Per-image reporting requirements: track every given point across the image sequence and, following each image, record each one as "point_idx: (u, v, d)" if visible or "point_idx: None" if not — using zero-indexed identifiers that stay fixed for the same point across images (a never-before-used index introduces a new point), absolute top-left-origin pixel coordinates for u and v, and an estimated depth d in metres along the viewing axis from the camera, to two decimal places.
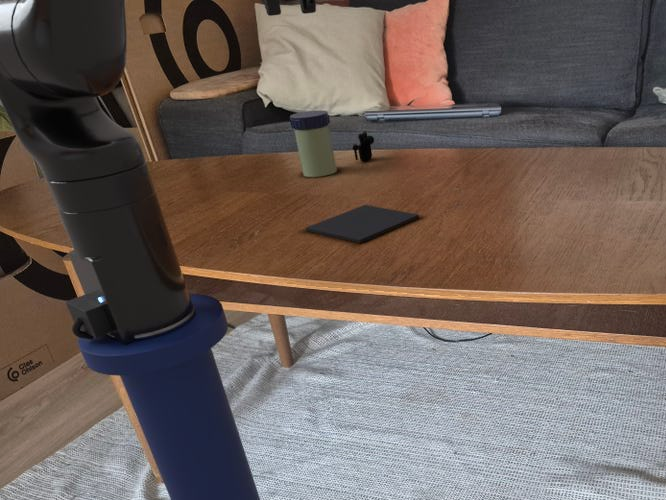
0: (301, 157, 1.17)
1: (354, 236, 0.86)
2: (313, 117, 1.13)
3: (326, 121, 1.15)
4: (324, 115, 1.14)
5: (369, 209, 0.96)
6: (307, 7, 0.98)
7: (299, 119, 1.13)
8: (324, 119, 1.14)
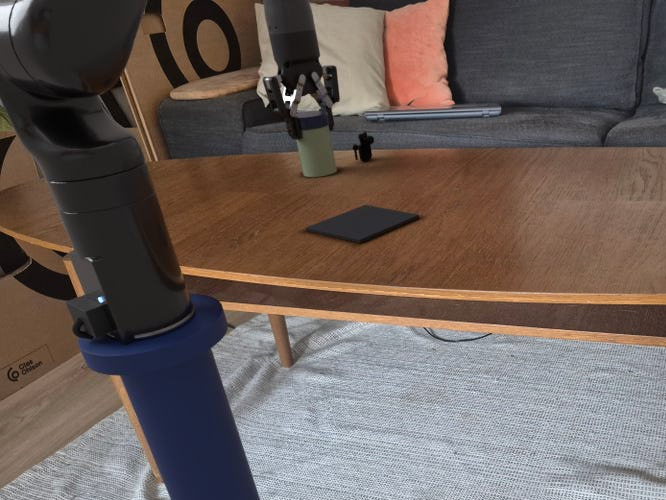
0: (301, 157, 1.17)
1: (354, 236, 0.86)
2: (313, 117, 1.13)
3: (326, 121, 1.15)
4: (324, 115, 1.14)
5: (369, 209, 0.96)
6: (333, 125, 1.19)
7: (299, 119, 1.13)
8: (324, 119, 1.14)
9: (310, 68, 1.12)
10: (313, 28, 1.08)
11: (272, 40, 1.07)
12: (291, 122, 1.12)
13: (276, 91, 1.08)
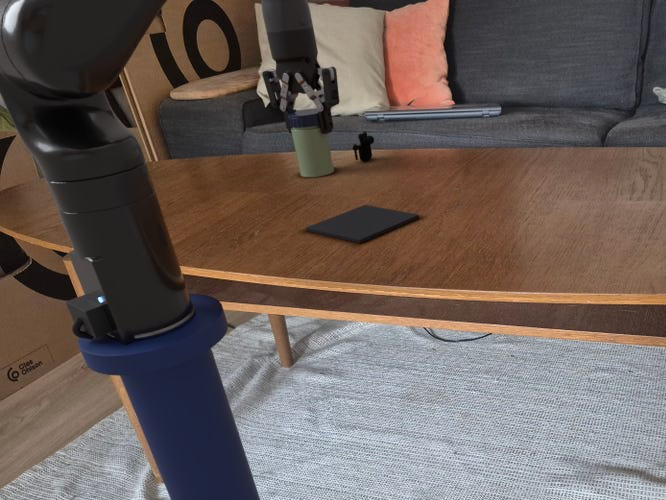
0: (299, 157, 1.17)
1: (354, 236, 0.86)
2: None
3: None
4: None
5: (369, 209, 0.96)
6: None
7: None
8: None
9: None
10: None
11: (306, 34, 1.07)
12: None
13: None
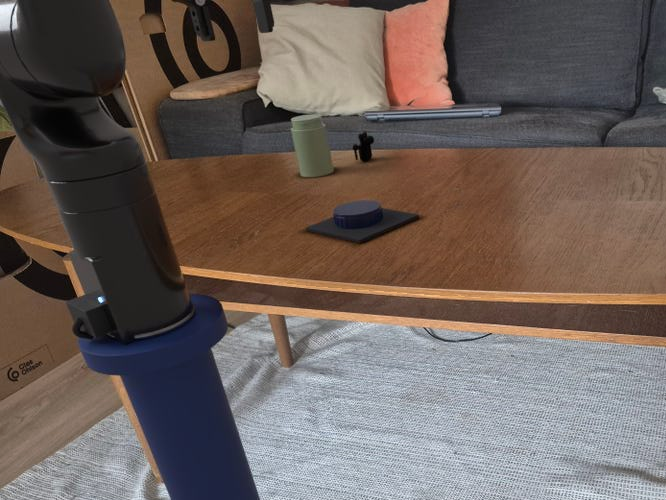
0: (299, 157, 1.17)
1: (354, 236, 0.86)
2: None
3: None
4: None
5: None
6: None
7: None
8: None
9: None
10: None
11: None
12: None
13: None
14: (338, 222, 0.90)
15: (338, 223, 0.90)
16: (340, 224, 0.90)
